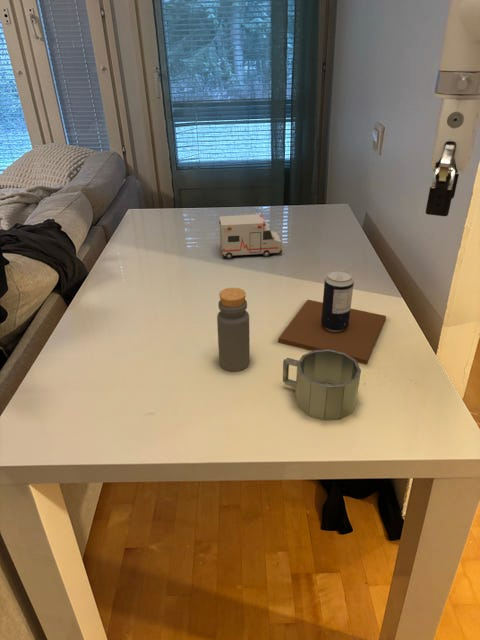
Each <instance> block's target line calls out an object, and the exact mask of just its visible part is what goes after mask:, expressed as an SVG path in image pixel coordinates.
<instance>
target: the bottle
mask: <svg viewBox="0 0 480 640" xmlns="http://www.w3.org/2000/svg"><path fill="white" fill-rule="evenodd" d="M246 296H247V293H246V291H245V290H244V289H242V288H239V287H228V288H224V289H222V290H220V291H219V292H218V297H219V301H218V302H217V303H218V310H219V312H217V315H216V323H217V345H218V362H219V366H220V367H221V368H222V369H223V370H226V371H229V372H240V371H242V370H245V369H246V368H247V367H248V366H250V361H251V360H250V359H251V357H250V356H251V355H250V353H251V351H250V349H251V348H250V345H251V343H250V341H251V339H250V338H251V337H250V314H249V312H248V311H247V309H248V302H247V300H246Z"/></svg>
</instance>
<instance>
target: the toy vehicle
mask: <svg viewBox="0 0 480 640" xmlns="http://www.w3.org/2000/svg"><path fill="white" fill-rule="evenodd" d="M218 218H219V219H218V223H219V224H218V225H219V240H220V249H221V254H222V257H225V259H227V260H232V258H233V256H244V255H245V256H247V255H248V256H249V255H263V257H265V258H267V257H270V255H271V254H280V253H281V254H282V253H283V249H282V240H281V239H280V236H279V234H278V232H277V231H273V230H271V228H270V226H269V223H268V222H267V220H265V219H264V217H263V215H262V214H259V213H257V214H242V215H241V214H239V215H220V216H219V217H218Z"/></svg>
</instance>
